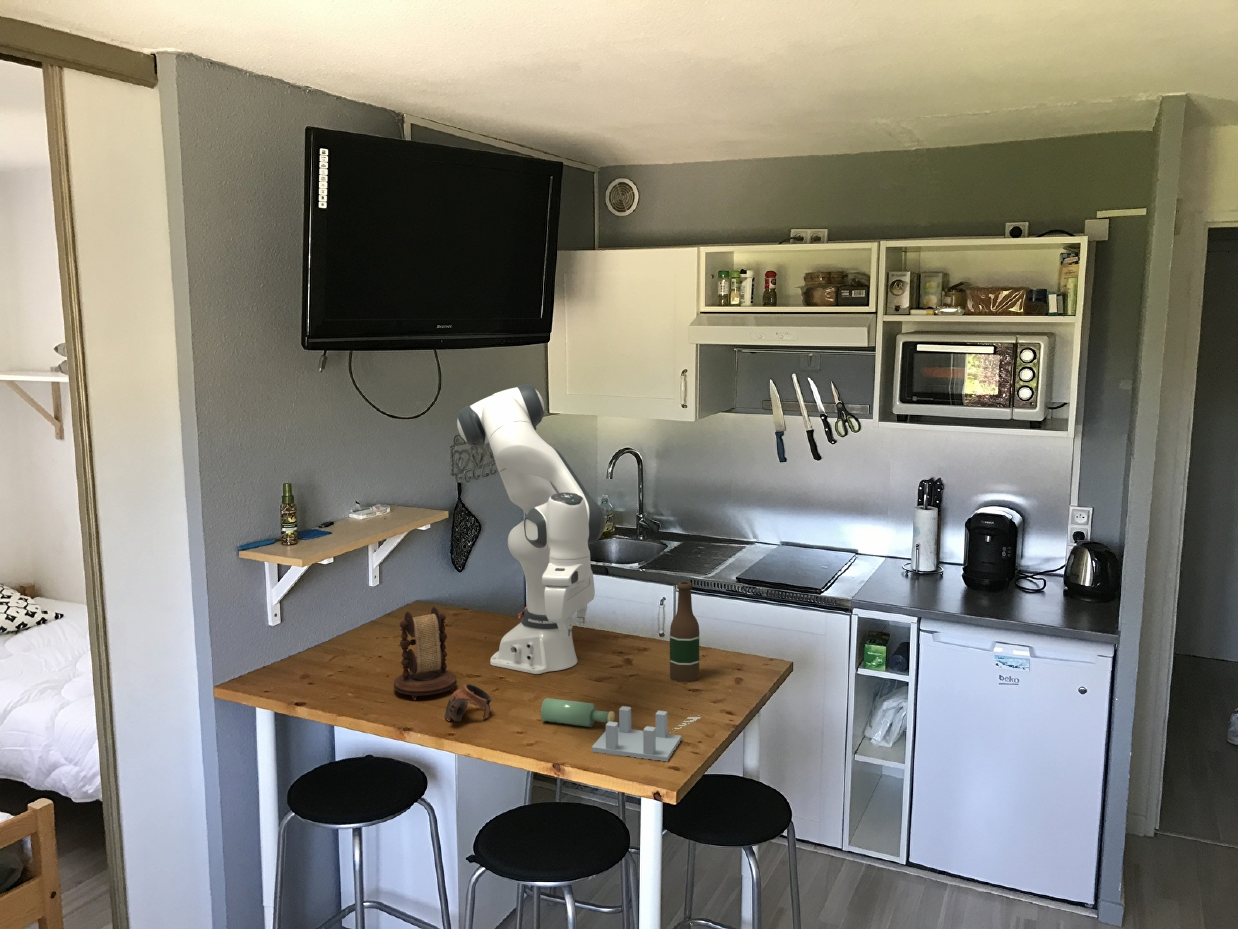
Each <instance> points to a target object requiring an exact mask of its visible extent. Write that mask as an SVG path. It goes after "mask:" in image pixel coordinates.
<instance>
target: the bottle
mask: <svg viewBox="0 0 1238 929" xmlns="http://www.w3.org/2000/svg"><path fill="white" fill-rule="evenodd" d="M540 708H541V709H540V718H541V720H542V722H547V721H548V722H549V723H555V722H556V723H555V724H562V723H563V724H562V725H564V724H565V725H572V726H577V727H585V728H586V727H588V728H592V727H593V726H594V724H595V722H600V723H606V724H607V723H608V722H615V718H616V713H615V711H603V710H597V706H596V704H595V703H591V702H583V701H576V700H566V699H560V698H559V699H558V698H550V697H546V698H544V699H543V701H542V704H541V706H540ZM548 722H547V723H548ZM591 726H592V727H591Z"/></svg>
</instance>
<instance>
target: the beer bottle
mask: <svg viewBox="0 0 1238 929" xmlns="http://www.w3.org/2000/svg"><path fill="white" fill-rule="evenodd" d="M692 588H693V585H692V582H690V581H679V582H678V584H677V589H678V594H677V610H676V614H675V615H674V617H673V619H671V620H672V621H671V623H670V629H669V630H670V631H669V678H670V679H671V680H673V681H675V682H677V683H691V681H692V682H695V681H698V680H699V678H700V626H699V622H698V619H697V617H695V615H694V613H693V602H692Z"/></svg>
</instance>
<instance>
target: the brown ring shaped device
mask: <svg viewBox="0 0 1238 929" xmlns="http://www.w3.org/2000/svg"><path fill="white" fill-rule="evenodd" d="M468 701H469V702H468ZM491 702H492V697H491V696H490V695H489V694H488V693H487V692H486V691H485V690H483V689H481V688H480V687H478V686H476V685H475V684H471V683H464V684H463V685H462V687H461V688H458V689H457V690H455V691H453V692H452V694H451V696H450V697H449V699H448V701H447V704H446V705H447V706H446V708H445V713H444V719H445V718H446V719H448V720H451V721H454V722H461V721H462V718H463V716H464V713H466V710H467V708H468V706H469V705H468V704H471V705H474V706H477V707H479V708H481V709H483V710H484V712H483V715H482V718H483V720H486V719H487V718H488V716H489V714H490V712H491V705H490V704H491ZM486 717H487V718H486ZM485 718H486V719H485ZM446 719H445V720H446Z"/></svg>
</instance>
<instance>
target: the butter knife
mask: <svg viewBox="0 0 1238 929" xmlns="http://www.w3.org/2000/svg"><path fill="white" fill-rule="evenodd" d="M697 715H698V716H700V715H699V714H697ZM686 719H693V720H690V721H685V720H683V721H682V722H693V723H695V722H697V721H698V720H697V719H699V720H700V719H702V716H701V717H689V716H688V717H687V718H686ZM696 720H697V721H696ZM694 721H695V722H694ZM682 722H681V723H682ZM682 724H684V725H680V724H678V726H684V727H686V726H688V725H691V724H690V723H688V725H687V724H686V723H682ZM673 729H680V730H681V729H683V728H682V727H680V728H676V727H674V728H673Z"/></svg>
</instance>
